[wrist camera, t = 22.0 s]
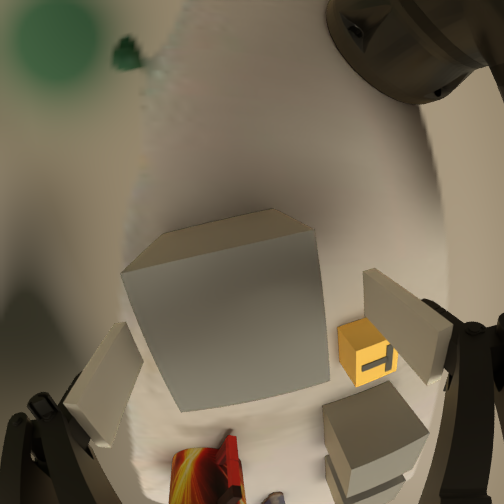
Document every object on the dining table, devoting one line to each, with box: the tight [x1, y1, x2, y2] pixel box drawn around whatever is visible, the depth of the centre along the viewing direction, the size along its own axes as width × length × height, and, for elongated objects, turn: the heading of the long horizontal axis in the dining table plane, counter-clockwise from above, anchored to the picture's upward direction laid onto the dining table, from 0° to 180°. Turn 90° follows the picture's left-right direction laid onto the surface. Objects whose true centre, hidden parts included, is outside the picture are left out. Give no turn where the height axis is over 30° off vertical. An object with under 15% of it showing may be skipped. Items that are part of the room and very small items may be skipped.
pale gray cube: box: [323, 381, 429, 498], centre depth 24 cm, size 9×9×10 cm
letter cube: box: [337, 317, 398, 387], centre depth 24 cm, size 4×4×5 cm
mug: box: [169, 435, 246, 504], centre depth 23 cm, size 10×14×12 cm
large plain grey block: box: [325, 455, 406, 504], centre depth 28 cm, size 9×9×10 cm
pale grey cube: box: [120, 208, 330, 412], centre depth 18 cm, size 9×9×10 cm
